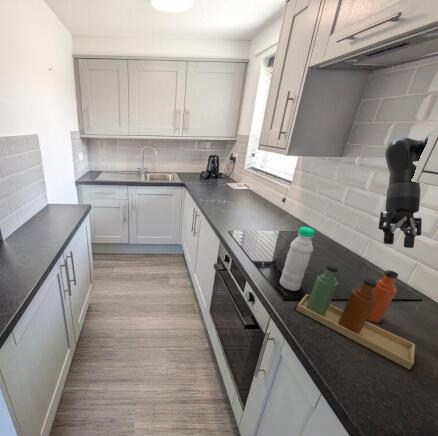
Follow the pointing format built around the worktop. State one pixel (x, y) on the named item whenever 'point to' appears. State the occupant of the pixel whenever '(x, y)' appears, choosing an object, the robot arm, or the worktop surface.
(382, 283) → the terracotta bottle
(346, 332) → the tray
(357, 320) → the amber bottle
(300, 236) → the water bottle
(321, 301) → the sage bottle
